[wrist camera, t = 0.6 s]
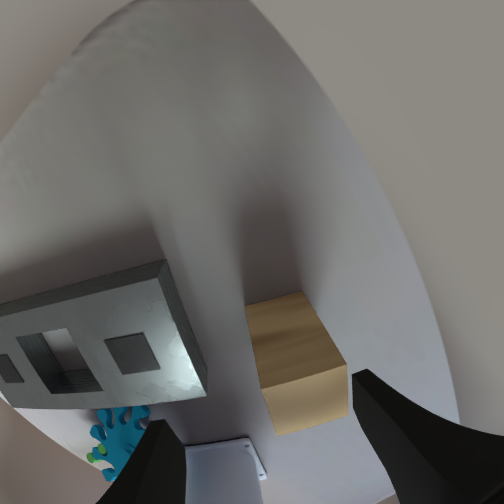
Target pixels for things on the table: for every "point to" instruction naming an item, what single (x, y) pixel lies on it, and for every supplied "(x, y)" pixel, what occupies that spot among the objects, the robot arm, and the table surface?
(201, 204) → the table surface
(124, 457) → the gear
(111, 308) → the grey holed base
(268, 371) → the peg
